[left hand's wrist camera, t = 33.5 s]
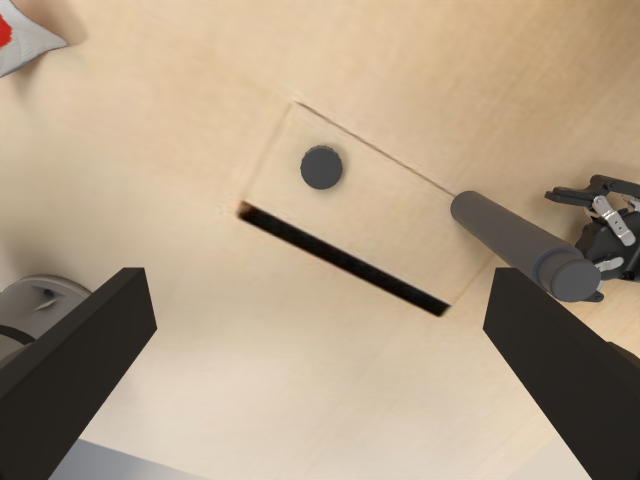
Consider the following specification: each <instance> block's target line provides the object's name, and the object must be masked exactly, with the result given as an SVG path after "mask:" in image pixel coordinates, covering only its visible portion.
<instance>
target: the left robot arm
mask: <svg viewBox="0 0 640 480" xmlns="http://www.w3.org/2000/svg"><path fill="white" fill-rule="evenodd" d="M156 330H157V325H156V321H155V316H154V311H153V307H152V302H151V297H150V293H149V288H148V283H147V279H146V274H145V269H144V268H123V269H121V270H120V271H119V272H118V273H116V274H115V275H114V276H113V277H112V278H110V279H109V280H108V281H107V282H106V283H104V284H103V285H102V286H101V287H100V288H98V289H97V290H96V291H95V292H93V293H92V294H91V293H90V292H89V291H88V290H86V289H85V288H83V287H81V286H80V285H78V284H76V283H74V282H72V281H69V280H66V279H64V278H60V277H55V276H48V275H36V276H30V277H26V278H23V279H21V280H19V281H17V282H16V283H14V284H12V285H10V286H9V287H7V288H6V289H5V290H4V291H2V292H1V293H0V480H48V479H49V477H50V476H51V475H52V473H53V472H54V470H55V469H56V468H57V466H58V465H59V463H60V462H61V461H62V459H63V458H64V457H65V455H66V454H67V453H68V451H69V450H70V448H71V447H72V446H73V444H74V443H75V442H76V440H77V439H78V437H79V436H80V435H81V433H82V432H83V431H84V429H85V428H86V426H87V425H88V424H89V422H90V421H91V420H92V418H93V417H94V415H95V414H96V413H97V411H98V410H99V409H100V407H101V406H102V404H103V403H104V402H105V400H106V399H107V398H108V396H109V395H110V393H111V392H112V391H113V389H114V388H115V387H116V385H117V384H118V382H119V381H120V380H121V378H122V377H123V376H124V374H125V373H126V371H127V370H128V369H129V367H130V366H131V365H132V363H133V362H134V360H135V359H136V358H137V356H138V355H139V354H140V352H141V351H142V349H143V348H144V347H145V345H146V344H147V343H148V341H149V340H150V338H151V337H152V336H153V334H154V333H155V332H156ZM483 330H484V332H485V333H486V334H487V336H488V337H489V338H490V340H491V341H492V343H493V344H494V345H495V347H496V348H497V349H498V351H499V352H500V354H501V355H502V356H503V358H504V359H505V360H506V362H507V363H508V365H509V366H510V367H511V369H512V370H513V371H514V373H515V374H516V376H517V377H518V378H519V380H520V381H521V382H522V384H523V385H524V387H525V388H526V389H527V391H528V392H529V393H530V395H531V396H532V398H533V399H534V400H535V402H536V403H537V404H538V406H539V407H540V409H541V410H542V411H543V413H544V414H545V415H546V417H547V418H548V420H549V421H550V422H551V424H552V425H553V426H554V428H555V429H556V431H557V432H558V433H559V435H560V436H561V437H562V439H563V440H564V442H565V443H566V444H567V446H568V447H569V448H570V450H571V451H572V453H573V454H574V455H575V457H576V458H577V459H578V461H579V462H580V464H581V465H582V466H583V468H584V469H585V470H586V472H587V473H588V475H589V476H590V477H591V479H592V480H640V359H639V358H638V357H637V356H635V355H634V354H633V353H631V352H629V351H627V350H625V349H623V348H622V347H620V346H618V345H616V344H614V343H612V342H606V341H605V340H603V339H602V338H601V337H600V336H599V335H597V334H596V333H595V332H594V331H592V330H591V329H590V328H589V327H588V326H586V325H585V324H584V323H583V322H582V321H580V320H579V319H578V318H577V317H576V316H574V315H573V314H572V313H571V312H570V311H568V310H567V309H566V308H565V307H563V306H562V305H561V304H560V303H559V302H557V301H556V300H555V299H554V298H553V297H551V296H550V295H549V294H548V293H547V292H545V291H544V290H543V289H542V288H540V287H539V286H538V285H537V284H536V283H534V282H533V281H532V280H531V279H530V278H528V277H527V276H526V275H525V274H524V273H522V272H521V271H520V270H519V269H517V268H496V269H495V274H494V279H493V283H492V288H491V293H490V297H489V302H488V307H487V311H486V316H485V321H484V325H483Z"/></svg>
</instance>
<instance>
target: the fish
mask: <svg viewBox="0 0 640 480" xmlns="http://www.w3.org/2000/svg"><path fill="white" fill-rule="evenodd" d="M68 45H69V44H68V43H67V42H66V41H65V40H64V39H63V38H61V37H59V36H58V35H56V34H54V33H52V32H50V31H48V30H47V29H45V28H43V27H42V26H40V25H39V24H37V23H36V22H34V21H32V20H31V19H29V18H28V17H26V16H25V15H23V14H22V13H21V11H20V10H19V9H18V8H17V7H16V6H15V5H14V4H13V3H12V1H11V0H0V78H1V77H3V76H6V75H8V74H10V73H12V72H14V71H16V70H18V69H20V68H22V67H23V66H25V65H26V64H28V63H29V62H31V61H32V60H34V59H35V58H37V57H38V56H40V55H41V54H43V53H44V52H46V51H48V50H53V49H57V48H61V47H65V46H68Z"/></svg>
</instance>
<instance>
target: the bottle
mask: <svg viewBox="0 0 640 480" xmlns="http://www.w3.org/2000/svg"><path fill="white" fill-rule="evenodd" d="M451 214H452V216H453V218H454V219H455V220H457V221H458V222H459V223H460V224H461V225H462V226H464V227H465V228H466V229H467V230H468V231H470V232H471V233H472V234H473V235H474V236H475V237H477V238H478V239H479V240H480V241H481V242H483V243H484V244H485V245H486V246H487V247H489V248H490V249H491V250H492V251H493V252H494V253H496V254H497V255H498V256H499V257H500V258H502V259H503V260H504V261H505V262H506V263H507V264H509V265H510V266H511V267H512V268H517V269H519V270H520V271H521V272H522V273H524V274H525V275H526V276H527V277H528V278H530V279H531V280H532V281H533V282H534V283H536V284H537V285H538V286H539V287H540V288H542V289H543V290H544V291H545V292H550V293H551V294H552V295H553V297H555V298H556V299H558V300H560V301H564V302H578V301H581V300H584V299H586V298H587V297H589V296H590V295H591V294H593V293H594V292H595V290H596V289H597V287H598V286H599V283H600V280H601V272H600V269H598V268H597V267H596V266H594V264H593V263H592V262H590V261H589V260H587V259H584V256H583V254H582V253H581V252H580V250H578V249H577V248H575V247H574V246H572V245H570V244H568V243H566V242H565V241H563V240H561V239H559V238H557V237H556V236H554V235H552V234H550V233H548V232H547V231H545V230H543V229H541V228H539V227H538V226H536V225H534V224H532V223H530V222H529V221H527V220H525V219H523V218H522V217H520V216H518V215H516V214H514V213H513V212H511V211H509V210H507V209H505V208H504V207H502V206H500V205H498V204H496V203H495V202H493V201H491V200H489V199H487V198H486V197H484V196H482V195H480V194H478V193H477V192H474V191H466V192H463V193H461V194H459V195H458V196H457V197H456V198H455V199H454V200H453V202H452V204H451Z"/></svg>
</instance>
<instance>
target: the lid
mask: <svg viewBox="0 0 640 480" xmlns="http://www.w3.org/2000/svg"><path fill="white" fill-rule="evenodd" d="M301 162H302V164H301V167H300V169H301V174H302V177H303V179H304V181H305V182H306V183H307V184H308V185H309V186H311V187H313V188H315V189H327V188H330V187H332V186H333V185H335V184H336V183H337V181H338V180H339V178H340V176H341V172H342V165H341V160H340V159H339V157H338V154H337V153H336V152H335V151H334V150H332V148H329V147H326V146H317V147H314V148H311V149H310V150H309V151H308V152H307V153H305V156H304V158H302V161H301Z"/></svg>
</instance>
